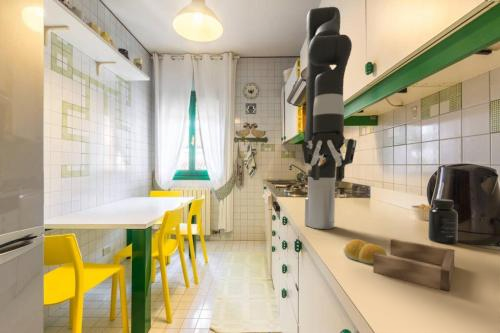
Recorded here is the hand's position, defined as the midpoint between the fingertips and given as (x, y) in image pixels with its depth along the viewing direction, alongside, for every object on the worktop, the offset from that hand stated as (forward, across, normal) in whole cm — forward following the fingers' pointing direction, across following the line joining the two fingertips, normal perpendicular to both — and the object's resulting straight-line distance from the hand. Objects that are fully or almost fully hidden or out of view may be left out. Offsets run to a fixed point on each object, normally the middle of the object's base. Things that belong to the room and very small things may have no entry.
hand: (327, 180), depth 67 cm
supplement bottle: (+18, -22, -30) cm, 41 cm away
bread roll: (+18, -9, 0) cm, 20 cm away
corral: (+17, -19, 0) cm, 26 cm away
